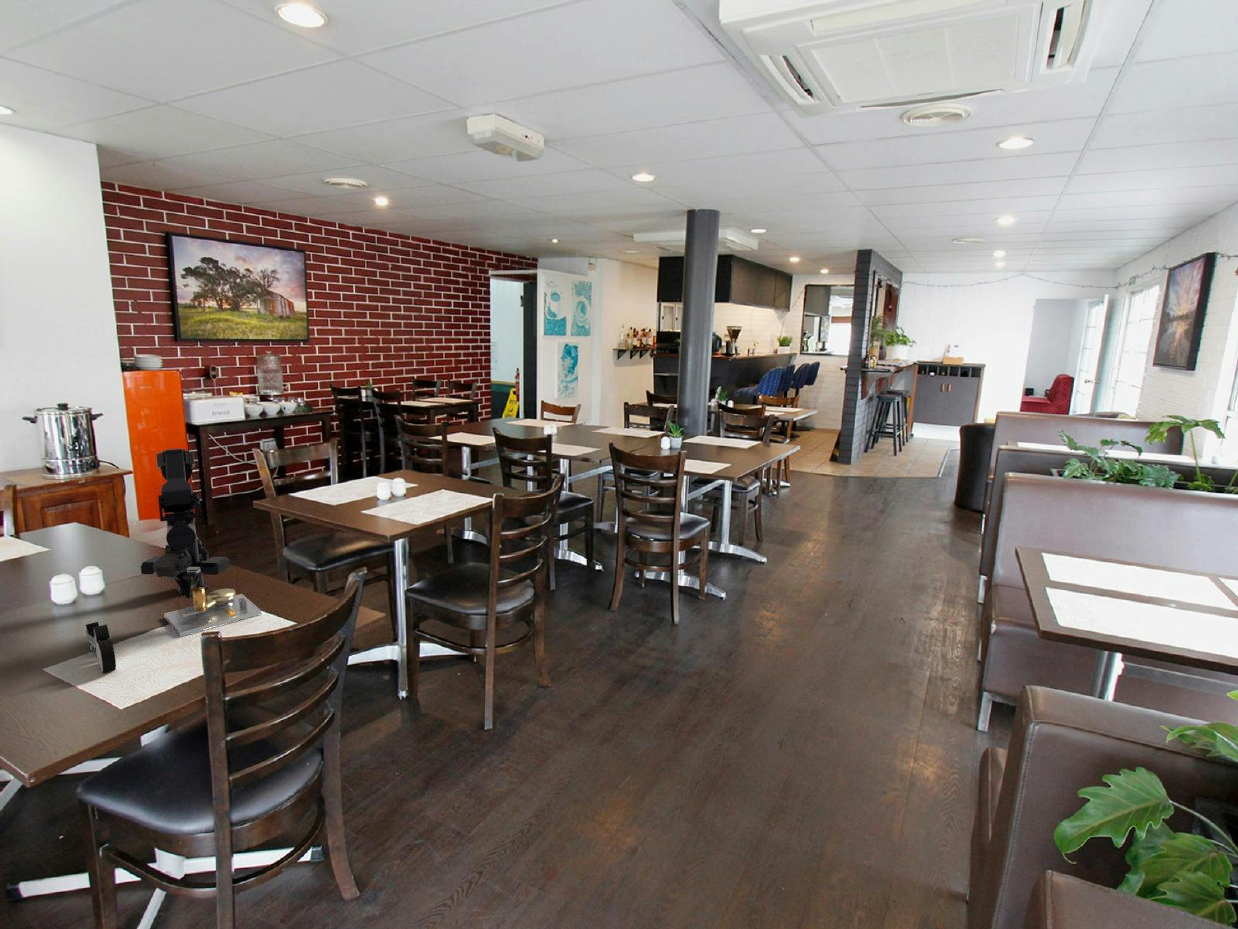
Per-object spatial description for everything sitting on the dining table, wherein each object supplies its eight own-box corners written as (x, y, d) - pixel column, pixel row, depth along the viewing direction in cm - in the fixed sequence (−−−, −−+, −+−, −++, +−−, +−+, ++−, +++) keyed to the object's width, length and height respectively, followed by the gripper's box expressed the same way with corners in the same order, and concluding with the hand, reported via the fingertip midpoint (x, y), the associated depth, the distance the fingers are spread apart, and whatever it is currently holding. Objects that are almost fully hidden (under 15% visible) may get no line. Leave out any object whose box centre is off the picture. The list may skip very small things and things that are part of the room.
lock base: (164, 617, 164) (162, 604, 163) (242, 597, 177) (241, 585, 176) (180, 637, 154) (178, 623, 153) (261, 614, 167) (260, 601, 166)
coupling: (217, 592, 172) (215, 572, 171) (240, 593, 172) (238, 573, 171) (184, 612, 160) (182, 590, 159) (209, 613, 160) (207, 591, 158)
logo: (118, 672, 137) (109, 626, 136) (105, 676, 135) (96, 629, 135) (103, 657, 152) (95, 616, 151) (91, 660, 150) (83, 619, 150)
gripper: (119, 548, 150) (128, 610, 153) (200, 549, 150) (207, 611, 153) (152, 534, 161) (160, 592, 164) (228, 534, 161) (234, 593, 164)
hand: (189, 597), depth 161 cm, fingers closed
